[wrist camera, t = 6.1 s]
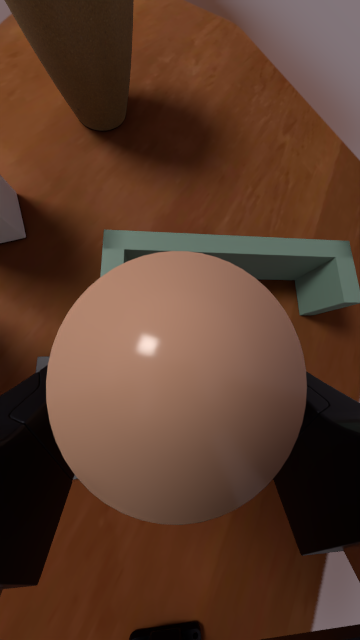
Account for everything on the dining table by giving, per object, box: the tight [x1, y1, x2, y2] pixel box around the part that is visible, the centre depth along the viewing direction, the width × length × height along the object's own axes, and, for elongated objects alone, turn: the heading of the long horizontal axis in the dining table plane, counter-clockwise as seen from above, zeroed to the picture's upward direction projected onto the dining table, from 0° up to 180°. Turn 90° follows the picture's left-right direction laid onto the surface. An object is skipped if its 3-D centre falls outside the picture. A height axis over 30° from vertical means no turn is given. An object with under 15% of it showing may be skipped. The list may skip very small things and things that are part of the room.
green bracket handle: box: [100, 230, 360, 315], centre depth 20 cm, size 7×26×6 cm, turn 91°
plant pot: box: [5, 0, 133, 131], centre depth 19 cm, size 15×15×16 cm
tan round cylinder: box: [46, 251, 307, 525], centre depth 10 cm, size 6×6×12 cm
